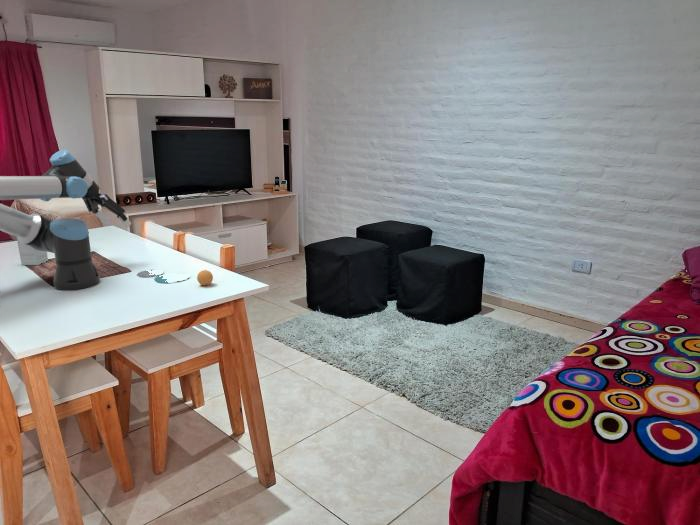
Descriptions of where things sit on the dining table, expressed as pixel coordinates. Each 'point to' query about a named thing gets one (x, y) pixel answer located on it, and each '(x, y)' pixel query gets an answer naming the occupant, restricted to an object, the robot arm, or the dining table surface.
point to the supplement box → (31, 254)
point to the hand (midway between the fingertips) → (118, 224)
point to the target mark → (160, 279)
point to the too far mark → (145, 274)
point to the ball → (205, 277)
